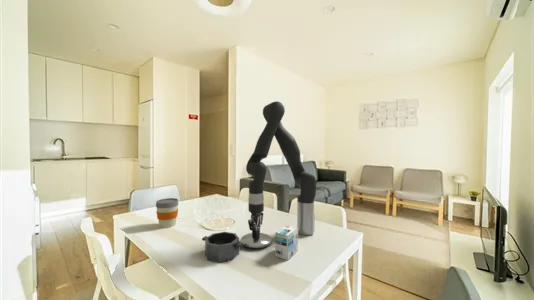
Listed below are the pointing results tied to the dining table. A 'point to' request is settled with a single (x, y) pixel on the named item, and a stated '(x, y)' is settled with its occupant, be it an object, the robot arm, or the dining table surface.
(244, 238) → the lid
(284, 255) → the light bulb box
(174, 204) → the reusable coffee cup
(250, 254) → the dining table surface
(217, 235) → the pot
